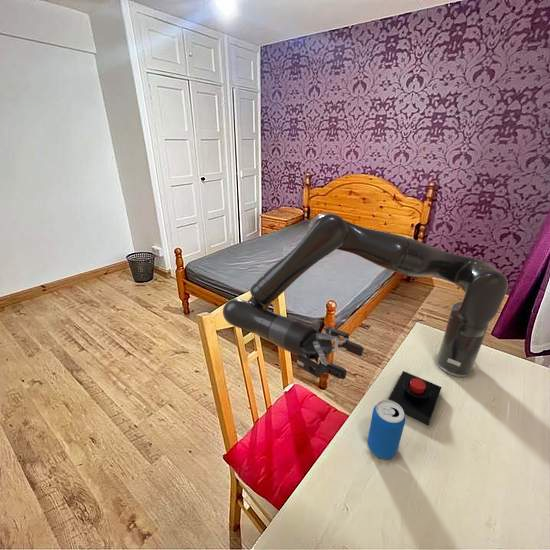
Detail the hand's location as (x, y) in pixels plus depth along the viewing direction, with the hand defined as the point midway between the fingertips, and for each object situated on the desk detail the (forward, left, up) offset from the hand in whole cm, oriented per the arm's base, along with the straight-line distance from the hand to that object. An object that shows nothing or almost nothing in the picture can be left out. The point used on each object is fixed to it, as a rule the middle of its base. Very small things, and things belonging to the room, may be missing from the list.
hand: (354, 363), depth 65 cm
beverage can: (0, +9, -20) cm, 22 cm away
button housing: (-18, +11, -20) cm, 29 cm away
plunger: (-18, +11, -16) cm, 26 cm away
